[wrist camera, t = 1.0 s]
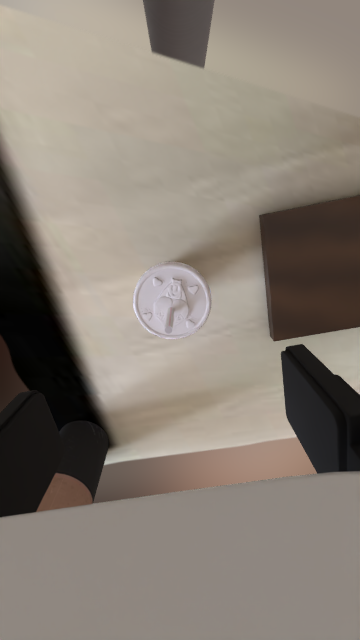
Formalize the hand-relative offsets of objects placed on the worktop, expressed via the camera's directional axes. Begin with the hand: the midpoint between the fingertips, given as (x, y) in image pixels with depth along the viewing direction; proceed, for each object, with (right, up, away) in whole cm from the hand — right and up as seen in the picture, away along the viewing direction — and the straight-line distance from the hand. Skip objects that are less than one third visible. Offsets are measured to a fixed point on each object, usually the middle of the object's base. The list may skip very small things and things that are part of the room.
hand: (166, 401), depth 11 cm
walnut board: (+16, +9, +20) cm, 27 cm away
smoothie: (0, +8, +21) cm, 22 cm away
